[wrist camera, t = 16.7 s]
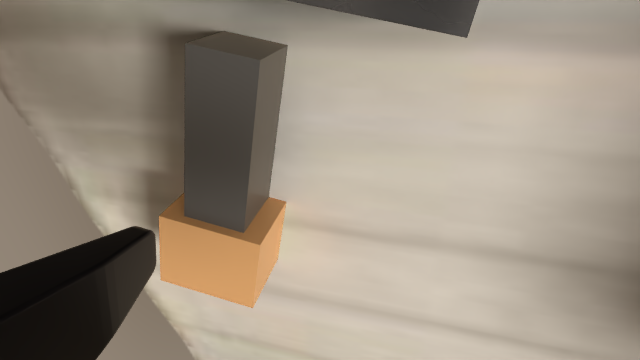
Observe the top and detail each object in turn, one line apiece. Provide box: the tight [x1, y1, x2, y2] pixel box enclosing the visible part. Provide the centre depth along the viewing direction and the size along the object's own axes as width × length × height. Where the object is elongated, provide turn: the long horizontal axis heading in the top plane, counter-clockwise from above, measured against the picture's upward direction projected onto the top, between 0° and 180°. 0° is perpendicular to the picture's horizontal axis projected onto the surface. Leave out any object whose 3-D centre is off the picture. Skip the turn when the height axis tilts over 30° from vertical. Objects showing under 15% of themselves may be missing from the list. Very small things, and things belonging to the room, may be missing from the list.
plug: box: [159, 31, 288, 308], centre depth 19 cm, size 5×12×4 cm, turn 170°
